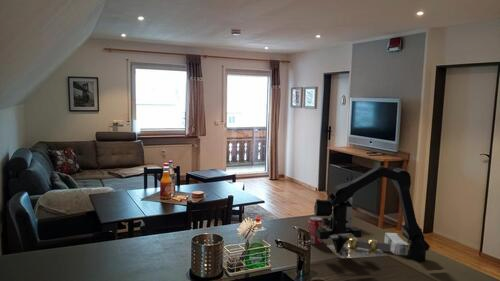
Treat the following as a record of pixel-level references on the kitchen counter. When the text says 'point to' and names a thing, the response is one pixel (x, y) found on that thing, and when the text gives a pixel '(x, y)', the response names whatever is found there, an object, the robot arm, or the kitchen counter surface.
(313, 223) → the soda can
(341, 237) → the robot arm
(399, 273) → the kitchen counter surface
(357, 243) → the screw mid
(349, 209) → the skincare box
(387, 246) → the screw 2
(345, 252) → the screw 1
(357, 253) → the base plate
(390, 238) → the syrup box
